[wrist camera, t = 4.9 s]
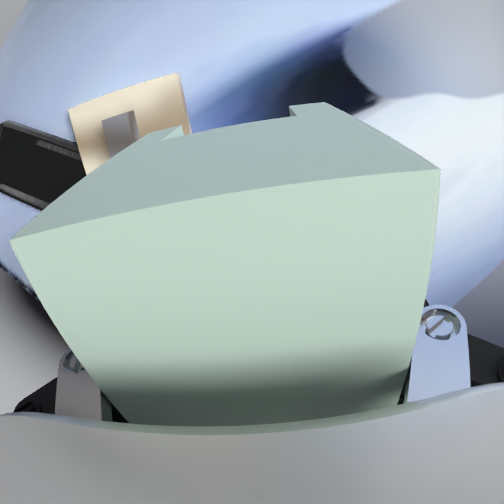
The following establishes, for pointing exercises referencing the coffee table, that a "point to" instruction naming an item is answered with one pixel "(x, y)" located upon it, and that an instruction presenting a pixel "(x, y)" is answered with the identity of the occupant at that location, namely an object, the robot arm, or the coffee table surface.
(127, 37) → the coffee table surface
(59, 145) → the phone
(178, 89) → the board
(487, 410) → the robot arm
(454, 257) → the coffee table surface
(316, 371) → the mint green box
